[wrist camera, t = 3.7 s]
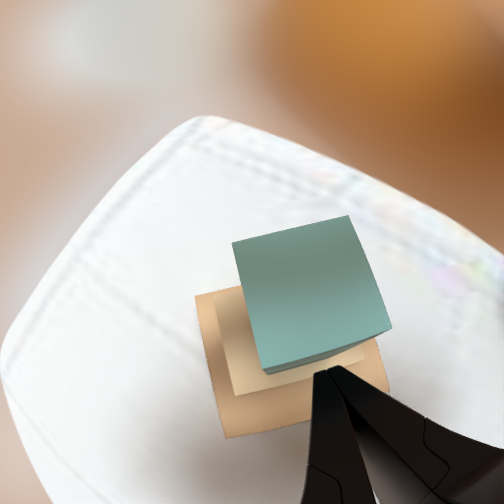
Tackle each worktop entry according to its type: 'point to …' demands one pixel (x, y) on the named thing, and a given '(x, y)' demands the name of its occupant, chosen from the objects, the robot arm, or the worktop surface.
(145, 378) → the worktop surface
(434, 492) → the robot arm
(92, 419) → the worktop surface
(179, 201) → the worktop surface
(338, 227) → the tall teal pillar
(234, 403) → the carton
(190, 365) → the worktop surface
